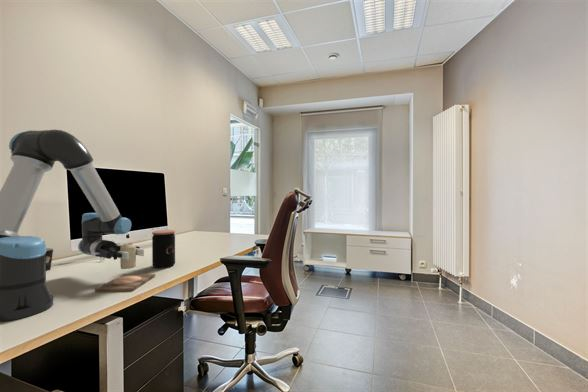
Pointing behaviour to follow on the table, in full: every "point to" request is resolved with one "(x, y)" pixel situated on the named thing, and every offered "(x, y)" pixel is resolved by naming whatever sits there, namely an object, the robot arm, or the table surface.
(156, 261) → the coffee jar
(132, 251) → the candle
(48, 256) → the coffee mug
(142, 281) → the candle board
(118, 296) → the table surface
